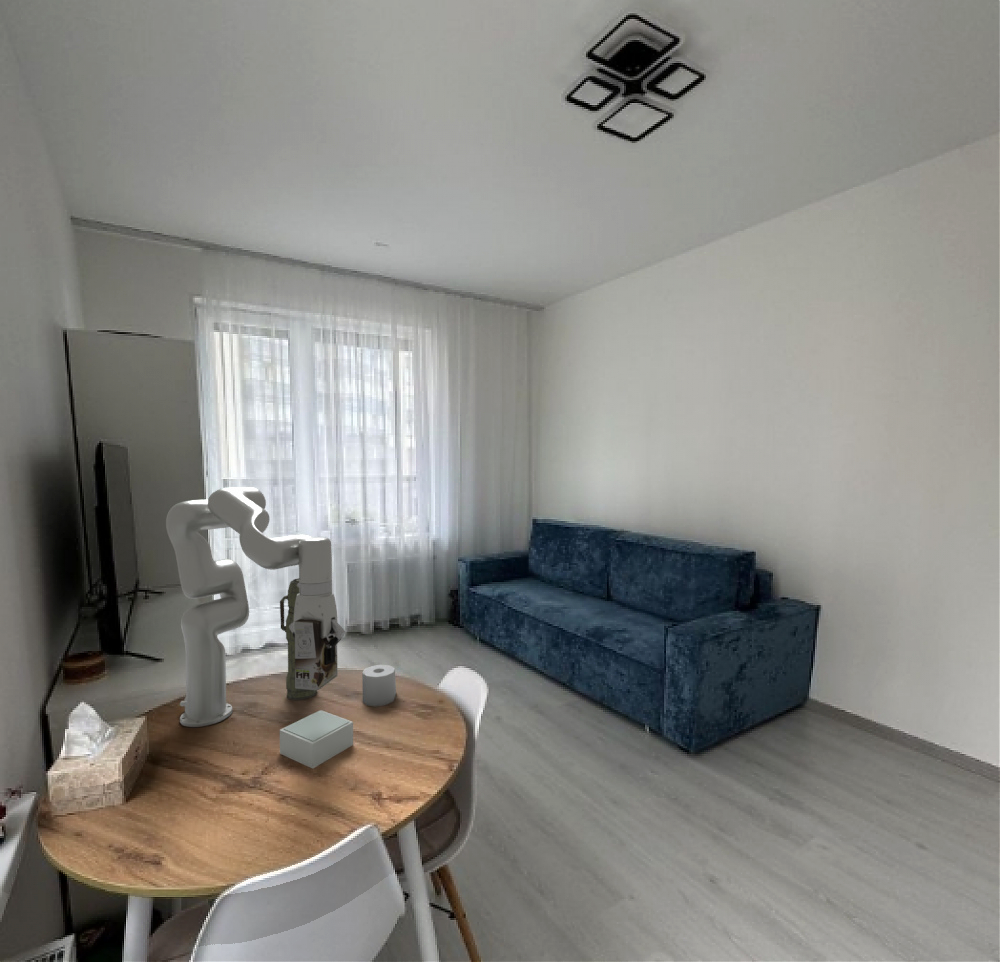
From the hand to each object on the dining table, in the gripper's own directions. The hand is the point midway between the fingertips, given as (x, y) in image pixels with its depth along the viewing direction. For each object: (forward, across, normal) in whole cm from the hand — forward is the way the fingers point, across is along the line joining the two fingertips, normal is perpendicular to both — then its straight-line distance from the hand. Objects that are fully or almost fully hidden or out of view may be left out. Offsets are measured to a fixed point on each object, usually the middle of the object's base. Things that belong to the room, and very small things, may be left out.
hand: (317, 660), depth 124 cm
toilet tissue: (+22, -2, +30) cm, 37 cm away
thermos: (+22, -26, +23) cm, 41 cm away
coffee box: (+5, 0, 0) cm, 5 cm away
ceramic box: (+22, 0, 0) cm, 22 cm away
